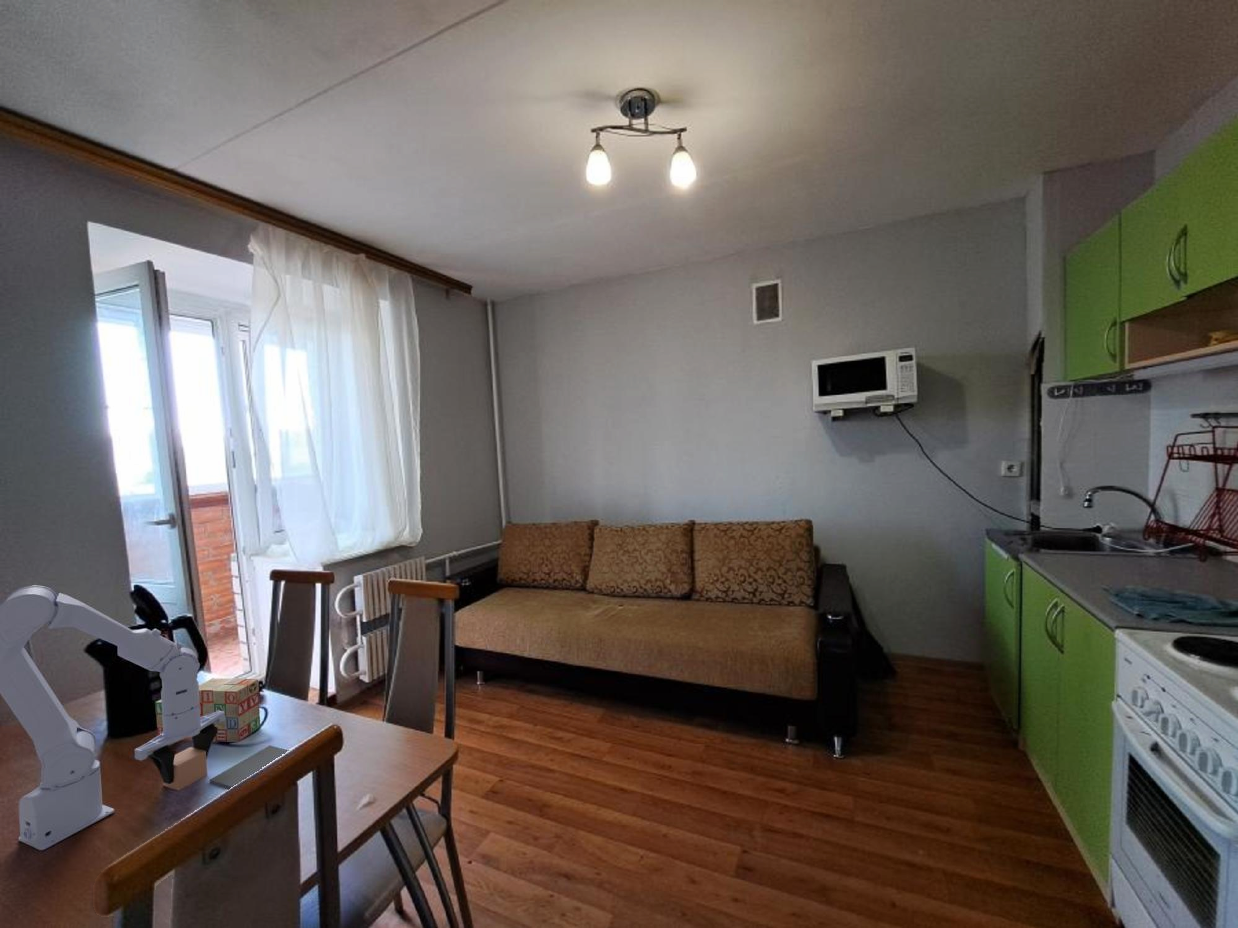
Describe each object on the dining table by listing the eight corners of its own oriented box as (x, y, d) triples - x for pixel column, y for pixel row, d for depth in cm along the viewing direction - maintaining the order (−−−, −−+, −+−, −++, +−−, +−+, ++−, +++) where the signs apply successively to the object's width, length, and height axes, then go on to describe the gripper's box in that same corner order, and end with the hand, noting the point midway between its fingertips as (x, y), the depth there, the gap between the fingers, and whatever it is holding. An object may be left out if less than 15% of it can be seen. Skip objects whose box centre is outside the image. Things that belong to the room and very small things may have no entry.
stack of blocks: (156, 740, 114) (153, 689, 114) (182, 725, 121) (180, 677, 120) (239, 742, 112) (236, 690, 112) (261, 727, 119) (259, 677, 118)
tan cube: (178, 790, 96) (177, 765, 96) (163, 785, 98) (161, 761, 98) (207, 774, 101) (205, 750, 101) (192, 769, 103) (190, 746, 102)
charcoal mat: (249, 794, 94) (249, 791, 94) (209, 782, 98) (209, 779, 98) (307, 757, 105) (307, 754, 105) (269, 747, 110) (269, 745, 110)
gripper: (148, 730, 91) (152, 801, 91) (232, 693, 104) (236, 755, 105) (126, 724, 93) (130, 793, 94) (211, 689, 107) (215, 749, 107)
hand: (185, 773), depth 99 cm, fingers closed on tan cube, 5 cm apart
